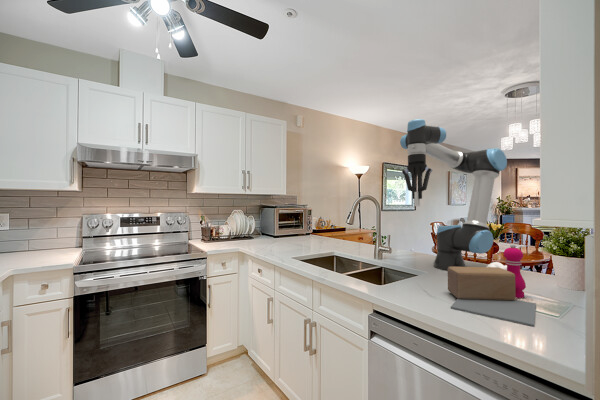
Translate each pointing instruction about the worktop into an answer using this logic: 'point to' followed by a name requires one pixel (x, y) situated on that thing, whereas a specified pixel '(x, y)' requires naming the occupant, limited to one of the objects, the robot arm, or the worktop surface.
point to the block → (481, 283)
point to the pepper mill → (515, 268)
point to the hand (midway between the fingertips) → (417, 206)
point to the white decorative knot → (497, 265)
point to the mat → (499, 309)
